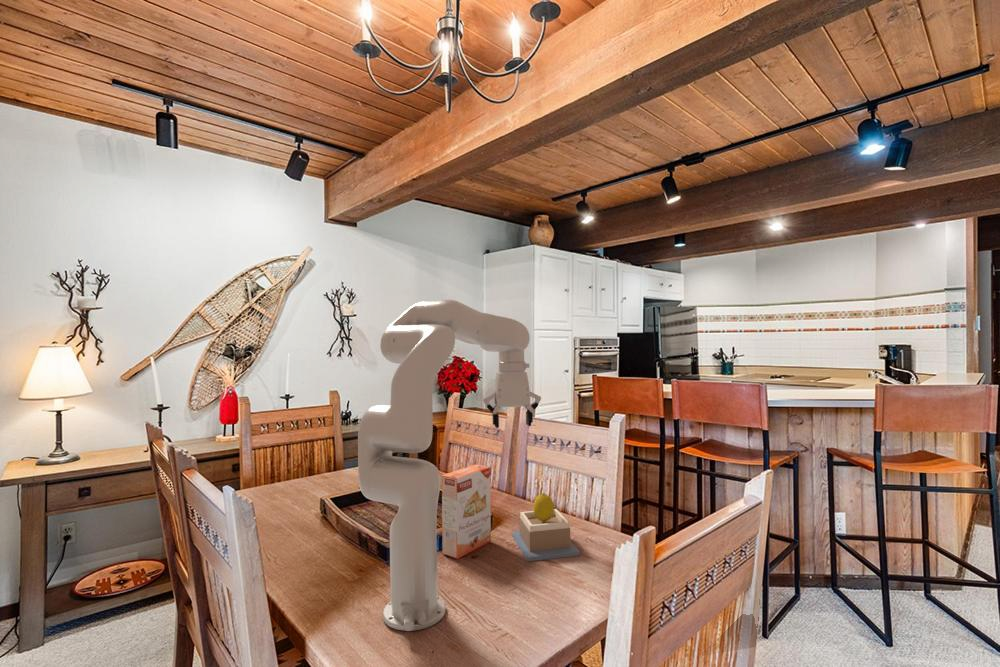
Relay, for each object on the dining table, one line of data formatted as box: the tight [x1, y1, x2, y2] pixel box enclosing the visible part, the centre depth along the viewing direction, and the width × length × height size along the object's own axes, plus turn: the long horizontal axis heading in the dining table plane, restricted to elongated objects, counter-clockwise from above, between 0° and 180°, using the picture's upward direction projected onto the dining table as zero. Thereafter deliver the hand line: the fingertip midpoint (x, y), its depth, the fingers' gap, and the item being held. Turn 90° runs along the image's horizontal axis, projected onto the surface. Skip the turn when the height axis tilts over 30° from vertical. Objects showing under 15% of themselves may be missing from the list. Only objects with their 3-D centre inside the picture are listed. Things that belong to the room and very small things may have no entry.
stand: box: [511, 508, 581, 562], centre depth 134 cm, size 17×14×8 cm
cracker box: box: [441, 464, 492, 560], centre depth 133 cm, size 14×6×21 cm, turn 143°
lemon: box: [532, 492, 555, 523], centre depth 134 cm, size 6×6×8 cm
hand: (512, 426), depth 145 cm, fingers open, 9 cm apart
